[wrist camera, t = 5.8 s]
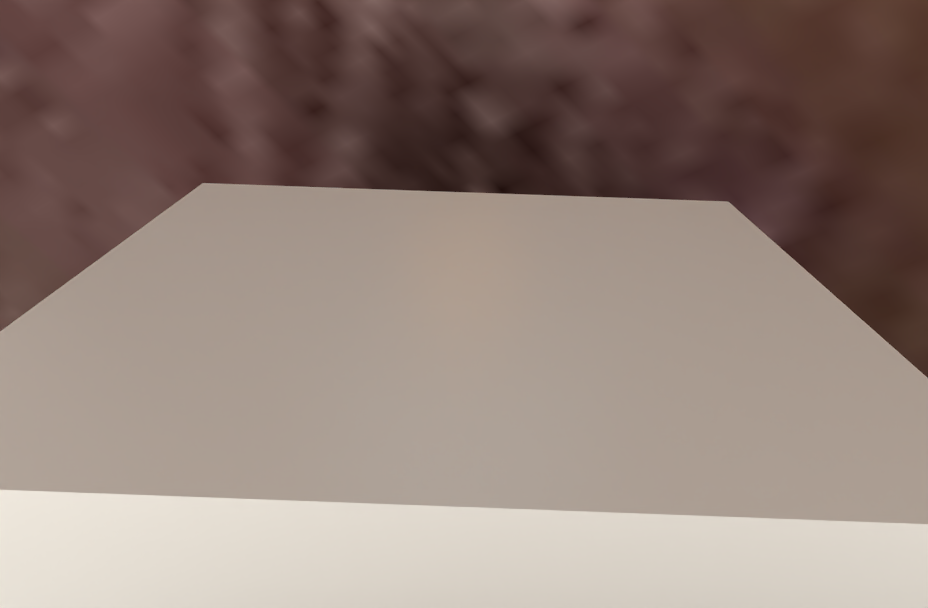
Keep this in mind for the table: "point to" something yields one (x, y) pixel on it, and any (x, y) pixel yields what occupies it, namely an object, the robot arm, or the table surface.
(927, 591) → the plain cream cube
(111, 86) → the table surface
